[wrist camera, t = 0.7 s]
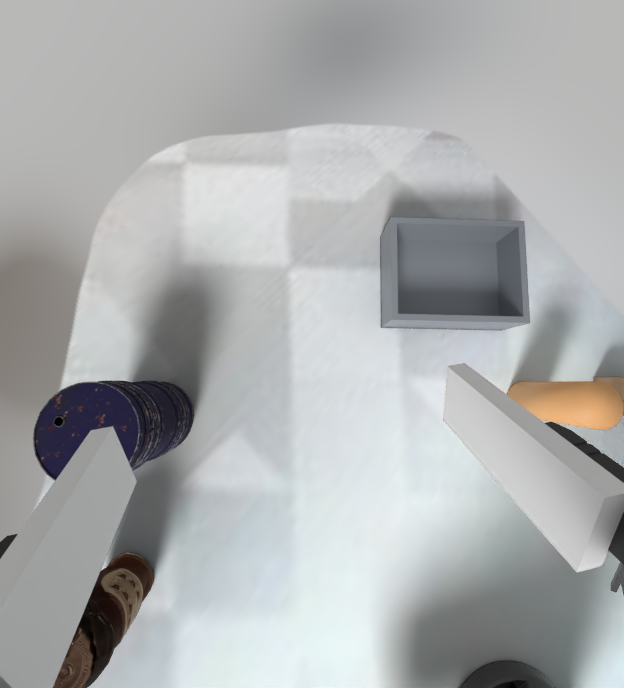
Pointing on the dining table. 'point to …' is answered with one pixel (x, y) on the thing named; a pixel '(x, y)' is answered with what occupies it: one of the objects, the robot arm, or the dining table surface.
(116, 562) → the coffee cup
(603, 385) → the tan dome-topped cylinder
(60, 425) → the storage jar
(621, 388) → the walnut cube
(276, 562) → the dining table surface
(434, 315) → the tote
